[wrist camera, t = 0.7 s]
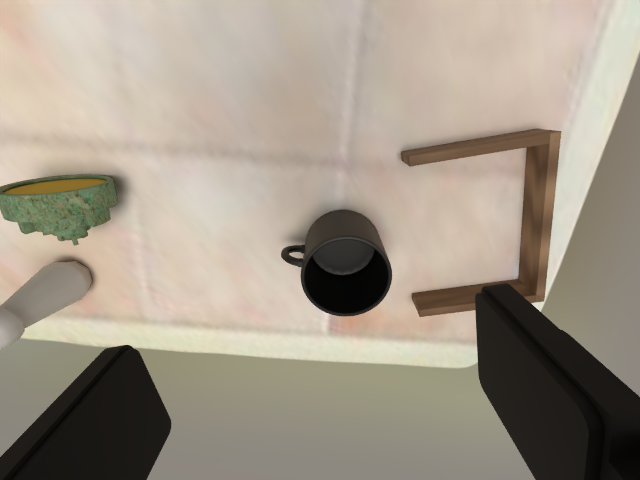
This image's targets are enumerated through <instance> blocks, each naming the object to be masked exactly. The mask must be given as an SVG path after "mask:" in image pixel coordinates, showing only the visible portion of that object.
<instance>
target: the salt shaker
mask: <svg viewBox="0 0 640 480" xmlns="http://www.w3.org/2000/svg"><path fill="white" fill-rule="evenodd" d="M91 282H92V279H91V275H90V272H89V269H88V268H87V267H85V266H83V265H82V264H80V263H78V262H77V261H71V262H54V263H51V264H49V265H47V266H45V267H43V268H42V269H41V270H40V271H39V272H37V273H36V274H35V275H34V276H33V277H32V278H31V279H30V280H29V281H27V282H26V283H25V284H24V285H23V286H22V287H21V288H20V289H19V290H18V291H16V292H15V293H14V294H13V295H12V296H11V297H10V298H9V299H8V300H7V301H5V302H4V303H3V304H2V305H1V306H0V349H3V348H5V347H7V346H9V345H11V344H13V343H14V342H16V341H17V340H18V339H20V337H21V336H22V334H23V332H24V331H25V330H24V328H26V327H28V326H30V325H32V324H34V323H36V322H38V321H40V320H42V319H43V318H45V317H47V316H49V315H51V314H53V313H55V312H57V311H59V310H61V309H62V308H64V307H66V306H68V305H70V304H72V303H74V302H76V301H78V300H80V299H82V298H83V297H84V296H85V294H86V292H87V291H88V289H89V287H90V284H91Z"/></svg>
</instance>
